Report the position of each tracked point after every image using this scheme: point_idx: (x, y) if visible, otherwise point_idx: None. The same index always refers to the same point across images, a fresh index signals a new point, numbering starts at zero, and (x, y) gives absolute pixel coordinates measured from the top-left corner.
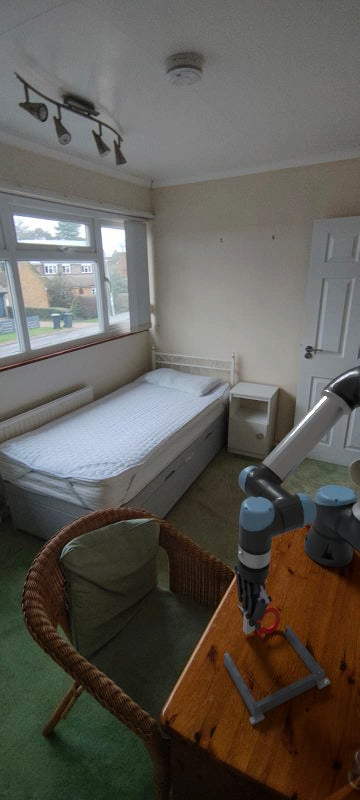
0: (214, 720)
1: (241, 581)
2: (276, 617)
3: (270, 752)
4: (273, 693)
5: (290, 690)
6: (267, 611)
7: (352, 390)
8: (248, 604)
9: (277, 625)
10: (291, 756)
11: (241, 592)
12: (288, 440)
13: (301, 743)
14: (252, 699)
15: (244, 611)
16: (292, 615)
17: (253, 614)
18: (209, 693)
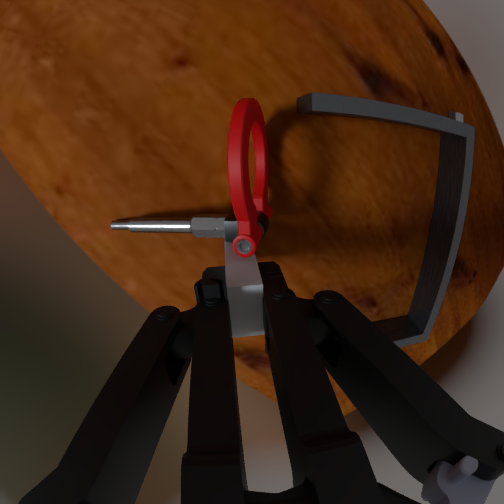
0: None
1: (138, 466)
2: (255, 120)
3: (452, 311)
4: (438, 291)
5: (457, 248)
6: (247, 180)
7: None
8: (278, 398)
9: (263, 121)
10: (472, 283)
11: (169, 400)
12: None
13: (476, 257)
14: (416, 338)
15: (232, 335)
16: (230, 29)
17: (330, 370)
18: (330, 379)
